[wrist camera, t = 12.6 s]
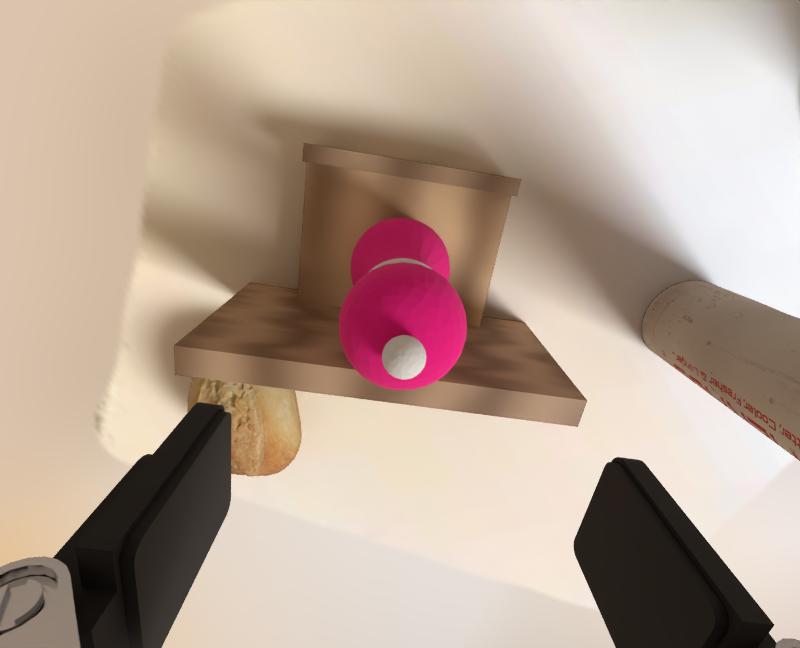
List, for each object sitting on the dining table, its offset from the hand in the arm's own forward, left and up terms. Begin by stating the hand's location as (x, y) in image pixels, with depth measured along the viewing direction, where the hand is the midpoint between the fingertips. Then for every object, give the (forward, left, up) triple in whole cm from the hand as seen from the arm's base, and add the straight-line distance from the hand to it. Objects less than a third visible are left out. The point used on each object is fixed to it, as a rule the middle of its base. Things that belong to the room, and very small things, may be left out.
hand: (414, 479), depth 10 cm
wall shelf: (0, 0, -29) cm, 29 cm away
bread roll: (+12, +17, -29) cm, 36 cm away
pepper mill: (0, 0, -26) cm, 26 cm away
